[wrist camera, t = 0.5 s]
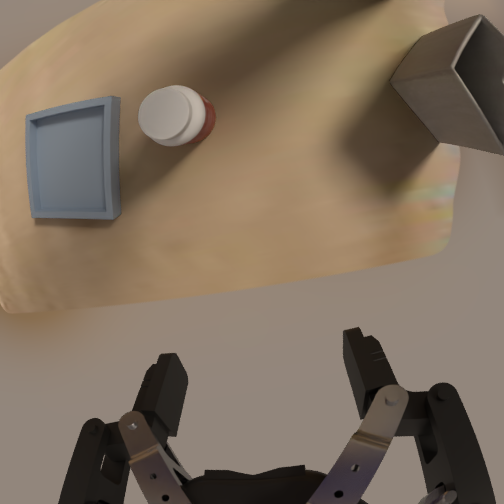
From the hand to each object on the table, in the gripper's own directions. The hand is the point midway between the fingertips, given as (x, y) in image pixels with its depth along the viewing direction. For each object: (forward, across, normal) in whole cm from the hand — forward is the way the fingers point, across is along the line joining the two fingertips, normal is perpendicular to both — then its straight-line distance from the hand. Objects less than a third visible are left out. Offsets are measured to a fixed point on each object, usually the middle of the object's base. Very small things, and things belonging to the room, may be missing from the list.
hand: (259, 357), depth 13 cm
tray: (+25, +24, -13) cm, 37 cm away
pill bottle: (+25, +6, -13) cm, 29 cm away
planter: (+26, -24, -14) cm, 38 cm away
